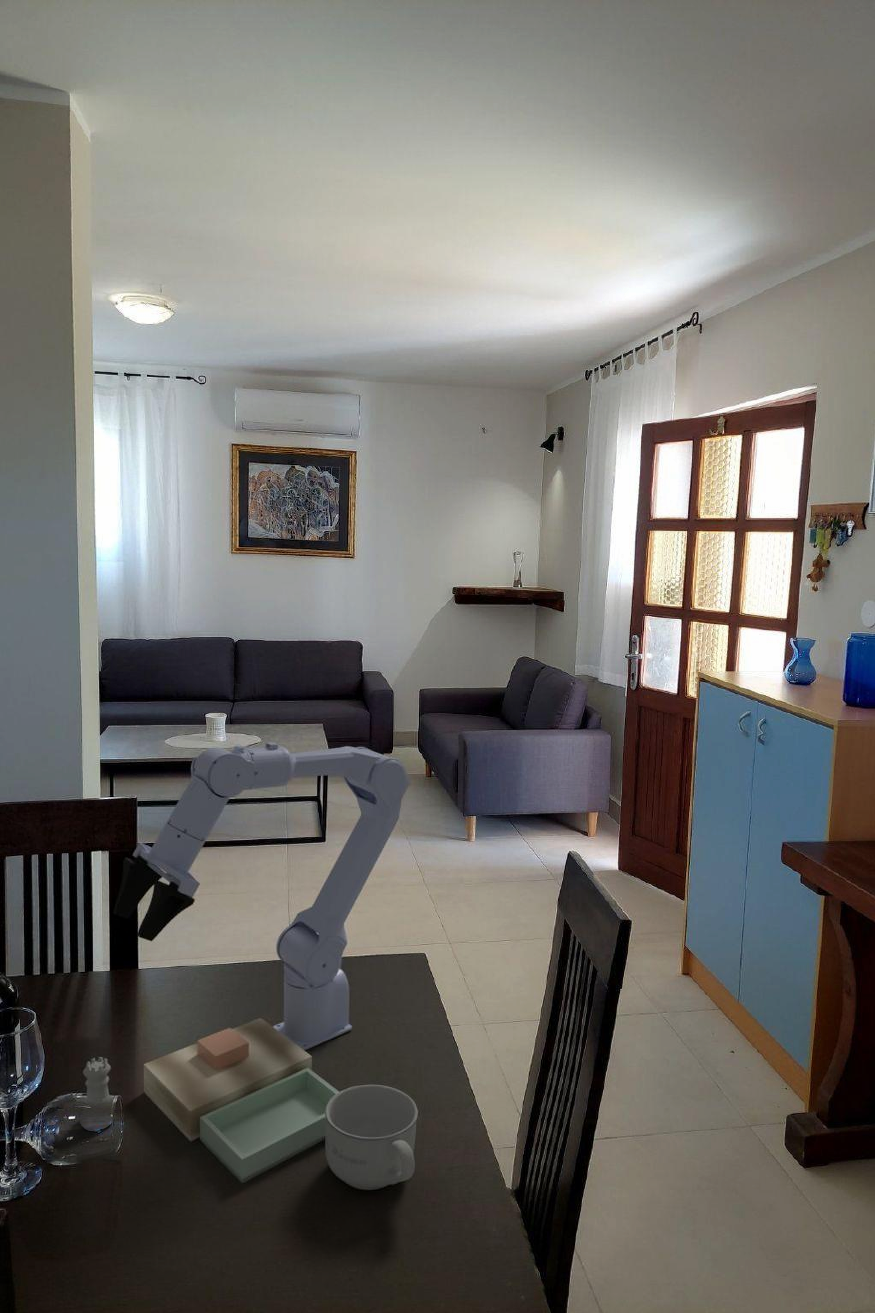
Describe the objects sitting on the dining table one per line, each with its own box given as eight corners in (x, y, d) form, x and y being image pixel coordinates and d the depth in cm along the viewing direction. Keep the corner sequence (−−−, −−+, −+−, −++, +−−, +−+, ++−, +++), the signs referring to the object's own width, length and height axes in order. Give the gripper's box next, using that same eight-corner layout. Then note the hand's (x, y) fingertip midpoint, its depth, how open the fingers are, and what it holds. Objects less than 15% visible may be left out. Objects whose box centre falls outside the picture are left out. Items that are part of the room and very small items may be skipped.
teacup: (314, 1153, 107) (314, 1092, 106) (397, 1132, 111) (398, 1072, 110) (348, 1236, 94) (349, 1167, 93) (441, 1208, 99) (443, 1142, 98)
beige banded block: (260, 1043, 130) (260, 1017, 130) (311, 1083, 121) (311, 1056, 120) (144, 1092, 118) (143, 1064, 118) (190, 1141, 109) (190, 1111, 108)
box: (307, 1088, 120) (307, 1067, 119) (352, 1124, 113) (353, 1102, 112) (199, 1139, 109) (199, 1117, 109) (242, 1183, 102) (242, 1159, 101)
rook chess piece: (104, 1136, 109) (102, 1075, 108) (71, 1130, 110) (70, 1070, 109) (123, 1113, 114) (122, 1055, 113) (92, 1108, 114) (91, 1050, 113)
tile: (230, 1041, 124) (230, 1027, 123) (248, 1056, 120) (248, 1042, 120) (197, 1054, 120) (197, 1040, 120) (215, 1070, 117) (215, 1056, 116)
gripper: (138, 805, 121) (84, 897, 118) (187, 838, 110) (130, 940, 107) (178, 823, 125) (128, 912, 122) (229, 857, 115) (175, 955, 112)
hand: (132, 926), depth 115 cm, fingers open, 7 cm apart
